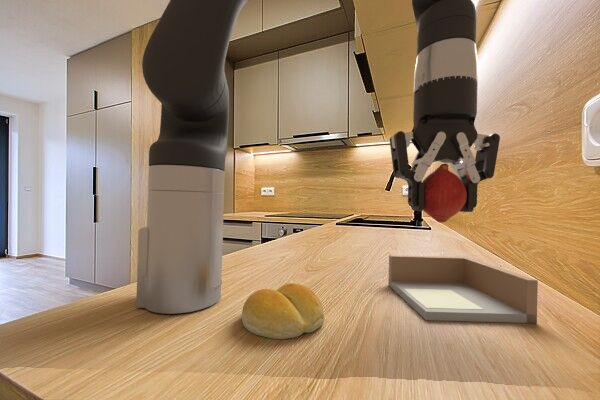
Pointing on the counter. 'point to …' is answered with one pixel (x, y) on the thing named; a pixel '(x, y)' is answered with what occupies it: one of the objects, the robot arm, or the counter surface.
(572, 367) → the counter surface
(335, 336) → the counter surface
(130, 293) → the counter surface
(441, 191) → the onion
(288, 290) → the bread roll
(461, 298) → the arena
